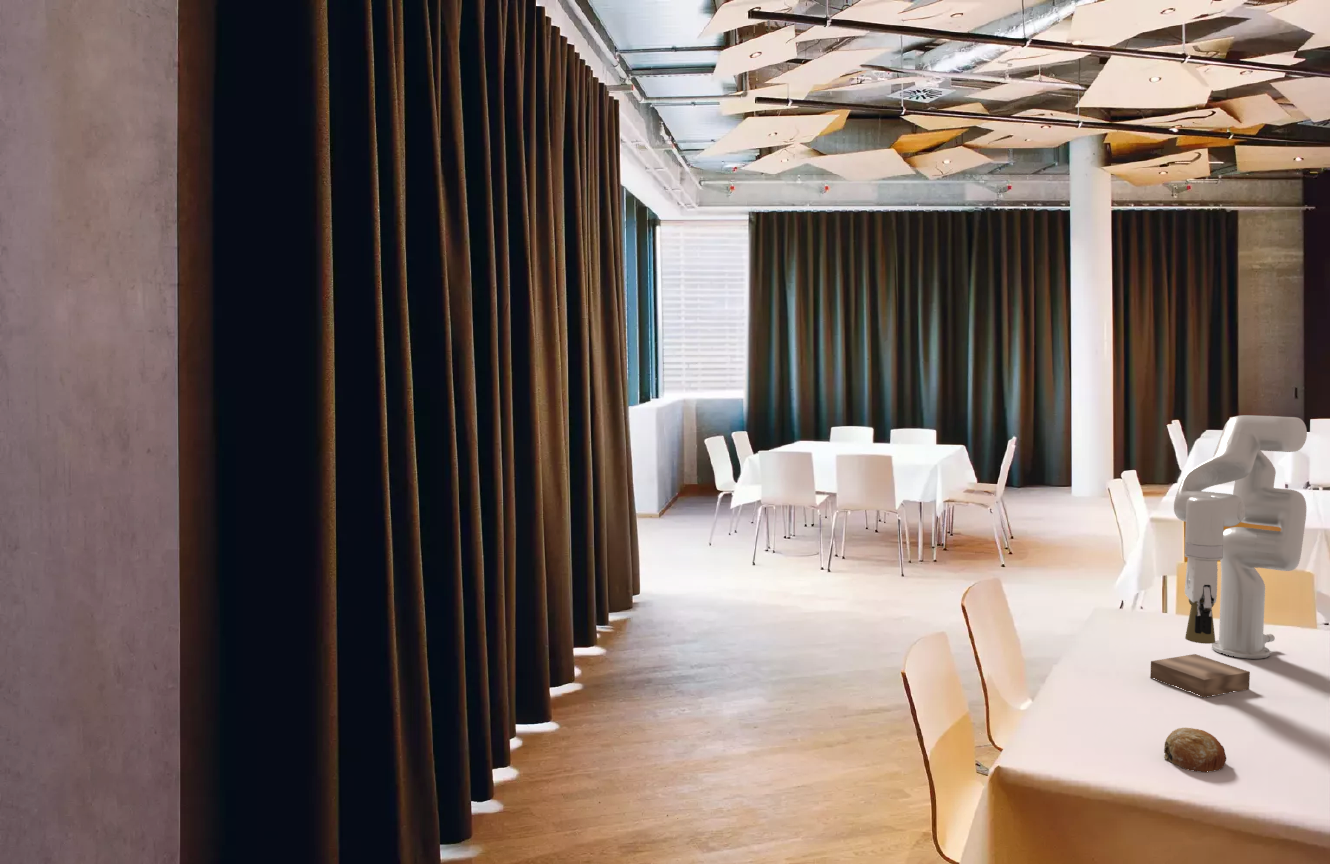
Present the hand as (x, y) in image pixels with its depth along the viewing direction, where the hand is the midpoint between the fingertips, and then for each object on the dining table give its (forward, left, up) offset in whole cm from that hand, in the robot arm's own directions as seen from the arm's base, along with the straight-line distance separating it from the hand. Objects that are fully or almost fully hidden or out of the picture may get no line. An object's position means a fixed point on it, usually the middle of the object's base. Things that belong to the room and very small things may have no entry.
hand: (1200, 629), depth 217 cm
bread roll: (+37, +30, -13) cm, 49 cm away
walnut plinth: (0, 0, -13) cm, 13 cm away
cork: (0, 0, -2) cm, 2 cm away
